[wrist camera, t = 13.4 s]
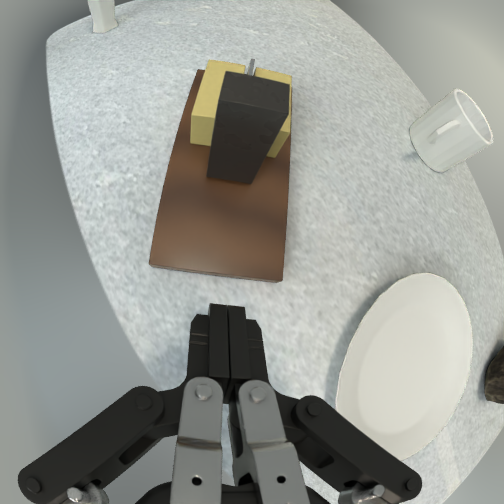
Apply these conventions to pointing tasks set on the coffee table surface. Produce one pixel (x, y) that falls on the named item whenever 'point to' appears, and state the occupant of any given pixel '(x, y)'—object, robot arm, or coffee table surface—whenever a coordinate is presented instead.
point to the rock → (495, 379)
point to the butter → (210, 94)
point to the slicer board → (221, 213)
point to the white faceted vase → (102, 15)
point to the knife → (246, 124)
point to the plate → (407, 364)
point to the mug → (450, 132)
